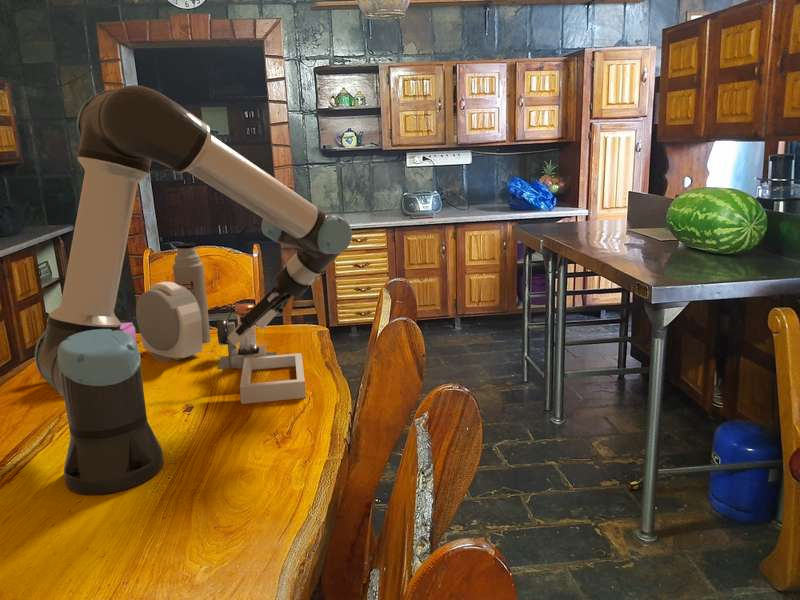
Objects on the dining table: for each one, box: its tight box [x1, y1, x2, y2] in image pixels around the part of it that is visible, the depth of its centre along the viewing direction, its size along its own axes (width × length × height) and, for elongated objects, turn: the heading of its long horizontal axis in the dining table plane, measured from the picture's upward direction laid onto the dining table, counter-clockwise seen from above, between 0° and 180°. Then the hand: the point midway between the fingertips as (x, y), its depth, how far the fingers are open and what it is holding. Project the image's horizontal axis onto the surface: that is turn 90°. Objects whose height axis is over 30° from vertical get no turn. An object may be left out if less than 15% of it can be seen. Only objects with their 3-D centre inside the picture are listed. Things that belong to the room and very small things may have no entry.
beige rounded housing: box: [135, 281, 203, 363], centre depth 159 cm, size 18×8×20 cm, turn 58°
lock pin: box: [234, 302, 257, 355], centre depth 152 cm, size 5×5×15 cm
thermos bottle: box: [172, 242, 211, 345], centre depth 173 cm, size 8×8×28 cm
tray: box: [239, 352, 307, 405], centre depth 142 cm, size 20×14×4 cm
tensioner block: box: [216, 318, 277, 370], centre depth 155 cm, size 13×14×11 cm
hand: (245, 333), depth 152 cm, fingers open, 13 cm apart
